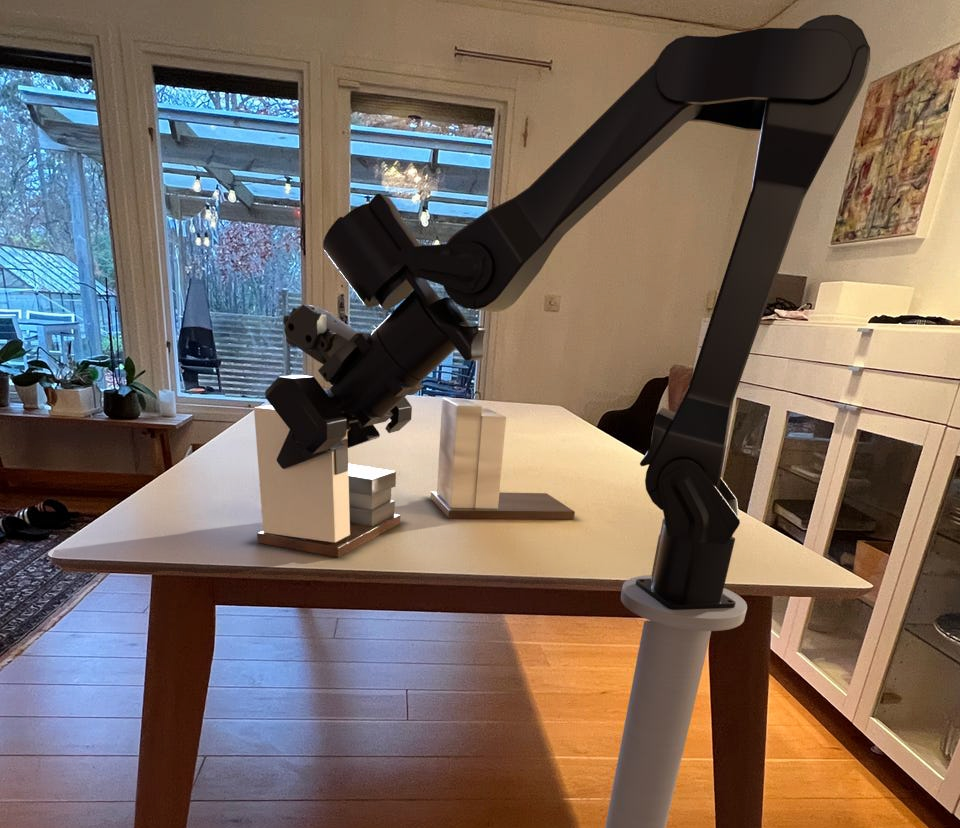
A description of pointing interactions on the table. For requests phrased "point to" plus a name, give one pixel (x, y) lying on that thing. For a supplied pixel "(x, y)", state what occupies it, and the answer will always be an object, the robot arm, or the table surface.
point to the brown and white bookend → (481, 469)
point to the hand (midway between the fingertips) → (291, 461)
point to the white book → (301, 486)
